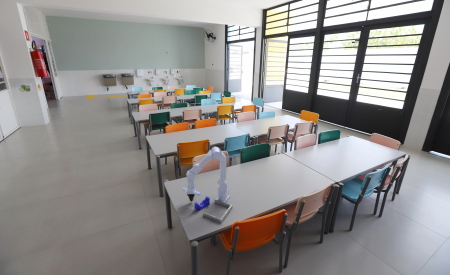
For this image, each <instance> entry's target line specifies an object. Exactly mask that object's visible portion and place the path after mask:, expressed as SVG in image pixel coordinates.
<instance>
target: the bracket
mask: <svg viewBox="0 0 450 275" xmlns="http://www.w3.org/2000/svg"><path fill="white" fill-rule="evenodd" d="M216 199H217V198H215V199H214V204H217V205H221V206H224V207H226V208H227V207H228V208H227V209H226V211H225V213H224V214H223V215H222V216H221V217H218V216H215V215H212V214H210V213H207V212H203V213H202V216H203V217H205V218H208V219H209V220H213V221H216V222H217V223H223V221H224V220H225V218H226V217H227V215H228V214H229V213H230V212H231V210H232V209H233V204H231V203H228V202H227V201H226V202H223V201H220V200H216Z"/></svg>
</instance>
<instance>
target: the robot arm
mask: <svg viewBox="0 0 450 275" xmlns="http://www.w3.org/2000/svg"><path fill="white" fill-rule="evenodd" d="M214 160H216V161H219V178H218V181H217V185H218V188H217V198H215V199H216V200H220V201H223V202H226V203H227V201H228V199H230V190H229V189H230V188H229V187H228V183H227V156H226V155H225V153H224V152H223V151H222V149H221V148H219V147H218V146H212V147H211V149H209V150H208V152H207V153H206V155H205V156H204V157H203V158H202V159H201V160H200V161H199V162H198V163H195V164H193V165H192V166H193V167H191V169H189V170H187V172H186V174H185V175H186V187H183V188H182V191H183V192H186V196H187V197H188V199H189V201H190V202H193V201H194V198H195V195H196V196H197V197H199V196H201V192H200V191H198V190H197V189H196V184H195V182H196V181H195V178H196V176H197V175H198V174H199V173H200V172H201V171H202V170H203V167H204V165H205V164H207V163H208V162H209V161H214Z"/></svg>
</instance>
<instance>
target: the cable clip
mask: <svg viewBox="0 0 450 275" xmlns="http://www.w3.org/2000/svg"><path fill="white" fill-rule="evenodd" d="M210 199H211V198H210V197H209V196H205V198H204V199H203V200H202V201H201V202H200V203H198V202H197V201H195V202H194V210H195V211H196V212H199V211H201V210H202V209H204V208H205V207H207V206H209V205H211V201H210Z"/></svg>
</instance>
